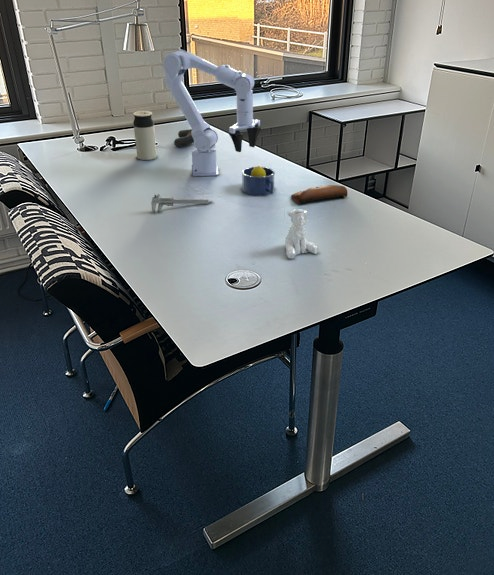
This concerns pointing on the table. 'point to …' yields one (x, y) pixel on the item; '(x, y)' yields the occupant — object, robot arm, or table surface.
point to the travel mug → (144, 135)
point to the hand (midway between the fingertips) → (245, 149)
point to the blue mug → (258, 182)
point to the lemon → (258, 172)
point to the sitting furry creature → (298, 235)
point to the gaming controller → (184, 138)
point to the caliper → (174, 202)
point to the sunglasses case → (319, 193)
